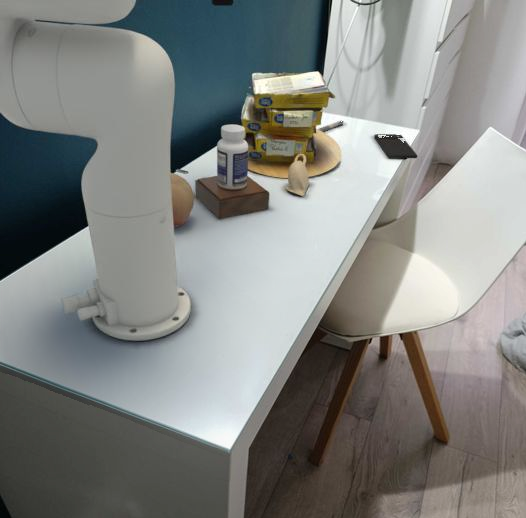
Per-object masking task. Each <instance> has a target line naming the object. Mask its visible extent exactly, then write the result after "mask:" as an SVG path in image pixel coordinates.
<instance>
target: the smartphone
mask: <svg viewBox="0 0 526 518" xmlns="http://www.w3.org/2000/svg"><path fill="white" fill-rule="evenodd" d="M396 134H397V133H375V134H374V135H373V137H374V139H375V141H376V142H377V143H378V144H379V146H380V147H381V149H382V151H383V152H384V153H385V155H386V157H388V159H417V158H418V154H417V153H416V151H414V149H413V148H412V146H411V145H410V144H409V143H408V142H407V140H405V141H404V143H403V142H402V141H401V140H400V139H398V138H404V136H403V135H402V134H400V135H396ZM378 135H386V136H389V137H386V136H385V137H384V136H382V138H379V137H378ZM391 136H392V137H391ZM383 137H384V138H383Z"/></svg>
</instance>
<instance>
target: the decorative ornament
mask: <svg viewBox="0 0 526 518" xmlns="http://www.w3.org/2000/svg"><path fill="white" fill-rule="evenodd" d="M300 156H302V157H303V162H301V161H297V160H298V158H299V157H300ZM305 164H306V157H305V155H304V154H299V155H297V156H296V158H295V160H294V163H292V164H291V166H290V168H289V170H288V178H287V181H288V184H287V185H286V187H285V190H287V192H289V193H293V194H295V195H299V196H301V197H305V194H306V192H307V189H308V187H309V186H310V179H309V178H310V177H308V173H307V169H306V167H305Z"/></svg>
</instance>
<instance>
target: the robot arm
mask: <svg viewBox="0 0 526 518" xmlns="http://www.w3.org/2000/svg"><path fill="white" fill-rule="evenodd" d="M136 2H137V0H0V114H1V115H2V116H3V117H4V118H5V119H7V120H8V121H9V122H10V123H12V124H13V125H15V126H16V127H20V128H23V129H26V130H32V131H39V132H44V133H53V134H61V135H68V136H77V137H82V138H89V139H92V140H94V141H96V143H97V147H96V150H95V152H94V153H93V154H92V156H91V157H90V159H89V160H88V162H87V163H86V165H85V167H84V168H83V171H82V174H81V181H80V182H81V184H80V185H81V193H82V200H83V204H84V209H85V215H86V220H87V225H88V231H89V237H90V242H91V247H92V252H93V253H92V254H93V259H94V264H95V269H96V275H97V278H95V279H93V280H92V286H93V288H91V289H86V293H83V294H77V295H76V294H75V295H71V296H67V297H63V298H60V301H61V305H62V309H63V311H64V314H66V315H68V314H71V313H76V312H77V316H78V319H79V320H80V321H84V320H88V319H91V318H92V322H93V323H94V325H95V326H96V327H97V328H98V330H100V331H101V333H104V334H106V335H108V336H110V337H113V338H116V339H120V340H123V341H135V342H137V341H150V340H155V339H159V338H162V337H165V336H167V335H170V334H172V333H174V332H175V331H177V330H179V329H180V328H181V327H183V325H185V323H186V322H187V321H188V319H189V318H190V315H191V312H192V311H191V310H192V309H191V308H192V307H191V306H192V305H191V299H190V297H189V295H188V293H187V292H186V291H185V290H184V289H183V288H181V286H179V285H178V271H177V260H176V259H177V258H176V257H177V256H176V243H175V241H176V240H175V227H174V223H173V208H172V191H171V173H172V172H171V170H172V169H171V139H172V125H173V116H174V106H175V105H174V104H175V92H176V91H175V90H176V81H175V80H176V79H175V72H174V67H173V63H172V61H171V59H170V56H169V54H168V53H167V52H166V50H165V49H164V48H163V46H161V45H160V44H159V43H158V42H156V41H155V40H153V39H152V38H151V37H149V36H147V35H145V34H142V33H139V32H136V31H133V30H129V29H123V28H118V27H117V28H116V27H109V26H100V25H105V24H110V23H111V24H112V23H114V22H115V23H117V22H118V21H120V20H123V19H125V18H126V17H127V16H128V15H129V14H130V13H131V12H132V10H133V9H134V7H135V5H136ZM211 4H212V6H217V7H219V6H220V7H221V6H224V7H225V6H226V7H230V6H233V5H234V0H211ZM46 21H47V22H46ZM55 22H57V23H55ZM98 25H99V26H98Z"/></svg>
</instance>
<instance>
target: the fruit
mask: <svg viewBox="0 0 526 518" xmlns="http://www.w3.org/2000/svg"><path fill="white" fill-rule="evenodd" d="M171 191H172V208H173V223H174V228H175V227H178V226H179V227H180V226H182V225H183V224H185V223H186V222H187V220H189V218H190V215H191V212H192V211H193V208H194V204H195V194H194V191H193V188H192V186H191V184H190V183H189V182H188V181H187V180H186V179H185V178H184V177H183V176H181V175H179V174H177V173H174V172H171Z"/></svg>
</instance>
